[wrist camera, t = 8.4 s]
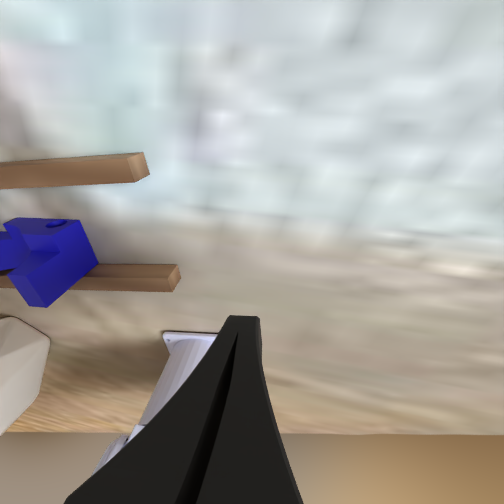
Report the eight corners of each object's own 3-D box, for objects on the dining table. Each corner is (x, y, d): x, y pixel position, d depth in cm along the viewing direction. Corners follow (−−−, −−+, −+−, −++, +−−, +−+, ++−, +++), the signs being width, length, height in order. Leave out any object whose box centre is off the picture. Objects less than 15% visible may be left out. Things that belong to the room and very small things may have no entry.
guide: (181, 277, 22) (167, 300, 20) (-8, 274, 25) (-41, 293, 23) (143, 152, 16) (117, 161, 14) (-96, 169, 20) (-152, 179, 17)
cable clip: (80, 219, 20) (13, 257, 15) (99, 262, 23) (46, 307, 18) (-38, 214, 22) (-135, 248, 17) (-8, 255, 24) (-86, 296, 19)
